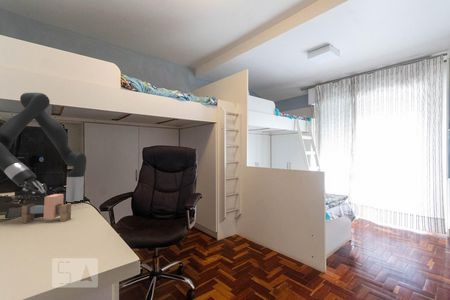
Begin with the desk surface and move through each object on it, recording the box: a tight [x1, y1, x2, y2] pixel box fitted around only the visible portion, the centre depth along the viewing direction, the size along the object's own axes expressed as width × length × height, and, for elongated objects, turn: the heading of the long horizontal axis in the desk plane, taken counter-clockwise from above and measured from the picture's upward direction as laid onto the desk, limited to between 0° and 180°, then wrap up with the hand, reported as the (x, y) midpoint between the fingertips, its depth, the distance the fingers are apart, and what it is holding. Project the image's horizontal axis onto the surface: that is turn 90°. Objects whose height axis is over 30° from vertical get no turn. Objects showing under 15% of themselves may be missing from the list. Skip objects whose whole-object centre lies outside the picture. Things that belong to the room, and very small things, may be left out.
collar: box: [43, 193, 65, 220], centre depth 100 cm, size 7×4×10 cm, turn 9°
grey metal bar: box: [28, 204, 61, 214], centre depth 99 cm, size 3×16×3 cm, turn 99°
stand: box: [20, 203, 72, 224], centre depth 99 cm, size 5×18×8 cm, turn 99°
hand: (48, 200), depth 99 cm, fingers closed
